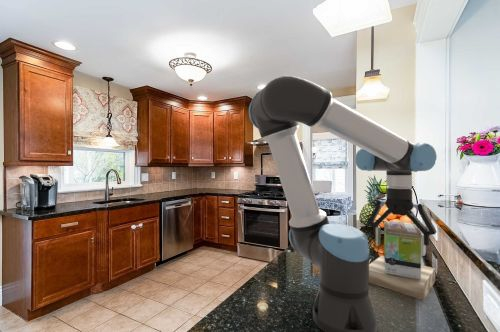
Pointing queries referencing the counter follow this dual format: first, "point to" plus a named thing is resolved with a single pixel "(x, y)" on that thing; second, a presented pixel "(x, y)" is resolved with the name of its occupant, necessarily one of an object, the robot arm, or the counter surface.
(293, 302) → the counter surface
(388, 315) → the counter surface
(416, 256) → the tea box
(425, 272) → the birch base block
